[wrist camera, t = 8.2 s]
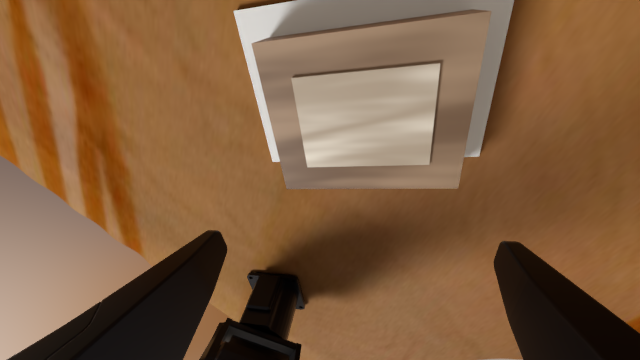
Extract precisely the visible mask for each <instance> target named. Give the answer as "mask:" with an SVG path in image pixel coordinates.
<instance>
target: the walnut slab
mask: <svg viewBox="0 0 640 360" xmlns="http://www.w3.org/2000/svg"><path fill="white" fill-rule="evenodd" d="M491 12H492V11H486V10H474V9H471V10H464V11H457V12H449V13H442V14H435V15H428V16H421V17H413V18H406V19H399V20H392V21H384V22H377V23H370V24H363V25H355V26H348V27H341V28H334V29H327V30H319V31H312V32H305V33H298V34H290V35H283V36H276V37H269V38H266V39H263V40H260V41H257V42H254V43H251V44H252V48H253V52H254V56H255V60H256V65H257V69H258V73H259V77H260V81H261V85H262V89H263V93H264V98H265V102H266V106H267V110H268V114H269V118H270V122H271V126H272V130H273V135H274V139H275V143H276V147H277V151H278V155H279V159H280V163H281V167H282V172H283V176H284V180H285V184H286V188H287V189H458V186H459V181H460V176H461V170H462V165H463V160H464V154H465V149H466V144H467V139H468V133H469V128H470V123H471V117H472V112H473V107H474V102H475V96H476V91H477V86H478V80H479V75H480V70H481V65H482V59H483V54H484V49H485V43H486V38H487V33H488V28H489V22H490V17H491Z"/></svg>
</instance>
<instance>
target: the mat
mask: <svg viewBox="0 0 640 360" xmlns="http://www.w3.org/2000/svg"><path fill="white" fill-rule="evenodd" d="M513 4H514V0H296V1H290V2H284V3H278V4H272V5H266V6H260V7H254V8H248V9H242V10H236V11H234V15H235V19H236V23H237V27H238V30H239V34H240V38H241V42H242V46H243V50H244V53H245V57H246V61H247V65H248V69H249V73H250V77H251V80H252V84H253V88H254V92H255V96H256V100H257V103H258V107H259V111H260V115H261V119H262V123H263V126H264V130H265V134H266V138H267V142H268V146H269V150H270V153H271V157H272V161H273V162H280V159H279V155H278V151H277V147H276V143H275V139H274V135H273V130H272V126H271V122H270V118H269V114H268V110H267V106H266V102H265V98H264V93H263V89H262V85H261V81H260V77H259V73H258V69H257V65H256V60H255V56H254V52H253V48H252V44H251V43H254V42H257V41H260V40H263V39H266V38H269V37H276V36H283V35H290V34H298V33H305V32H312V31H319V30H327V29H334V28H341V27H348V26H355V25H363V24H370V23H377V22H384V21H392V20H399V19H406V18H413V17H421V16H428V15H435V14H442V13H449V12H457V11H464V10H471V9H474V10H486V11H492V12H491V17H490V22H489V28H488V33H487V38H486V43H485V49H484V54H483V59H482V65H481V70H480V75H479V80H478V86H477V91H476V96H475V102H474V107H473V112H472V117H471V123H470V128H469V133H468V139H467V144H466V149H465V154H464V157H478V156H479V155H480V150H481V146H482V142H483V137H484V133H485V128H486V124H487V119H488V115H489V110H490V106H491V101H492V97H493V93H494V88H495V84H496V79H497V75H498V70H499V66H500V61H501V57H502V53H503V48H504V44H505V39H506V35H507V30H508V26H509V21H510V17H511V12H512V8H513Z"/></svg>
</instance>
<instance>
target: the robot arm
mask: <svg viewBox="0 0 640 360" xmlns="http://www.w3.org/2000/svg"><path fill="white" fill-rule="evenodd" d="M226 254H227V245H226V243H225V241H224V239H223V236H222V234H221V232H219V231H216V230H208V231H206V232H204V233H203V234H201V235H200V236H198V237H197V238H195V239H194V240H192V241H191V242H189V243H188V244H186V245H185V246H183V247H182V248H180V249H179V250H177V251H176V252H174V253H173V254H171V255H170V256H168V257H167V258H165V259H164V260H162V261H161V262H159V263H158V264H156V265H155V266H153V267H152V268H150V269H149V270H147V271H146V272H144V273H143V274H141V275H140V276H138V277H137V278H135V279H134V280H132V281H131V282H129V283H128V284H126V285H125V286H123V287H122V288H120V289H119V290H117V291H116V292H114V293H112V294H111V295H109V296H108V297H107V298H105V299H103V300H102V302H99V303H97V304H96V305H94V306H93V307H91V308H90V309H88V310H87V311H85V312H84V313H82V314H81V315H79V316H78V317H76V318H75V319H73V320H71V321H70V322H68V323H67V324H65V325H64V326H62V327H60V328H59V329H57V330H55V331H54V332H52V333H51V334H49V335H47V336H46V337H44V338H42V339H41V340H39V341H37V342H36V343H34V344H32V345H31V346H29V347H27V348H26V349H24V350H22V351H21V352H19V353H17V354H16V355H14V356H12V357H11V358H9V359H7V360H183V358H184V356H185V354H186V351H187V349H188V347H189V345H190V343H191V340H192V338H193V336H194V334H195V332H196V329H197V327H198V325H199V323H200V321H201V318H202V316H203V314H204V312H205V310H206V307H207V305H208V303H209V301H210V299H211V296H212V294H213V291H214V289H215V286H216V283H217V280H218V277H219V274H220V271H221V268H222V265H223V262H224V260H225V257H226ZM494 269H495V272H496V276H497V280H498V284H499V288H500V291H501V295H502V299H503V303H504V306H505V310H506V314H507V317H508V321H509V323H510V326H511V329H512V331H513V334H514V337H515V339H516V342H517V344H518V347H519V349H520V352H521V355H522V357H523V360H640V333H639V332H637V331H636V330H635V329H633V328H632V327H631V326H629V325H628V324H627V323H625V322H624V321H623V320H621V319H620V318H619V317H617V316H616V315H615V314H613V313H612V312H611V311H610V310H608V309H607V308H606V307H604V306H603V305H602V304H600V303H599V302H598V301H596V300H595V299H594V298H592V297H591V296H590V295H588V294H587V293H586V292H584V291H583V290H582V289H580V288H579V287H578V286H576V285H575V284H574V283H573V282H571V281H570V280H569V279H567V278H566V277H565V276H563V275H562V274H561V273H559V272H558V271H557V270H555V269H554V268H553V267H551V266H550V265H549V264H547V263H546V262H545V261H543V260H542V259H541V258H539V257H538V256H537V255H536V254H534V253H533V252H532V251H530V250H529V249H528V248H526V247H525V246H524V245H522V244H521V243H519V242H515V241H502V242H501V243H500V244H499V247H498V250H497V253H496V256H495V259H494ZM247 278H248V280H249V283H250V285H251V287H252V289H253V291H252V293H251V295H250V298H249V300H248V302H247V305H246V308H245V310H244V313H243V315H242V317H241V320H240V322H239V323H238V322H236V321H233V320H232V319H230V318H227V320H226V322H224V323H219V325H218V327H217V329H216V331H215V333H214V335H213V337H212V339H211V341H210V342H209V344H208V346H207V348H206V349H205V351H204V352H203V354H202V356H201V358H200V359H199V360H299V359H300V352H301V344H299V343H293V342H290V341H288V340H287V339H288V335H289V331H290V328H291V324H292V320H293V316H294V312H295V309H304V308H305V302H304V299H303V295H302V291H301V288H300V284H299V280H298V278H297V277H296V276H292V275H279V274H265V273H249V274H248V276H247Z"/></svg>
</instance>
